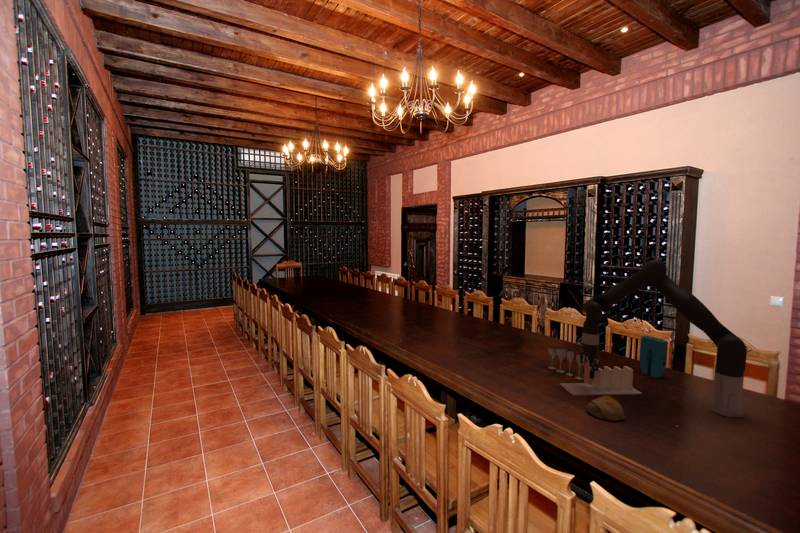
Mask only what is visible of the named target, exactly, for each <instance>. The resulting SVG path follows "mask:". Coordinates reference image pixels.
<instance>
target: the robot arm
mask: <svg viewBox="0 0 800 533" xmlns="http://www.w3.org/2000/svg"><path fill="white" fill-rule="evenodd" d="M667 271H668V268H667V265H666V264H665V262H663V261H662V260H658V259H657V260H656V259H655V260H654V259H653V260H649V261H647V262H646V263H644V264H643V265H642V266H641V267H640V269H639V270H638V271H636V272H635V273H634V274H632V275H631V276H629V277H628V278H626V279H624V280H622V281H621V282H619V283H617V284H615V285H613V286H612V287H610V288H609V289H607V290H605V291H604V292H602V293H601V294H599V295H596V296H594V297H591V298H590V299H588V300H586V301H585V302H584V303H583V304H582V310H583V312H584V313H585V320H584V322H583V325H582V336H581V348H580V349H581V351H579V353H580V363H581V364H582V365H581V366H582V374H583V375H584V366H585V361H586V362H588V366H589V369H590V372H589V378H590V379H593V380H594V377H595V371H598V369H599V368H600V365H601V360H600V359H598V358H597V354H598V353H599V352H600V351H599V350H600V324H601V321H602V316H603V309H604V308H606V307H612V306H614V305H616V304H617V303H619V302H621V301H622V300H624V299H625V298H626V297H628V296H629V295H631V294H633V293H634V292H635V291H637V290H638V289H640V288H641V287H644V286H646V285H647V284H650V286H652V287H653V288H654V289H656V290H657V292H659V293H660V294H661V295H662V297H664V298H665V299H666V300H667V302H669V304H670V305H672V307H673V308H674V309H675V310H676V311H677V312H678V313H679V314H680V315H681V316H682V318H684V319H686V320H687V321H688V322H689V323H691V324H692V325H693V326H694V327H696V328H698V329H699V330H701V331H702V332H703V333H704V334H705V335H706V336H707V337H708V338H709V339H710V340H711V342H712V343H713V344H714V345H715V346H716V356H715V357H716V359H715V365H714V375H713V376H714V377H713V387H712V398H711V399H712V400H711V411H713V412H714V413H716V414H719V415H721V416H724V417H727V418H743V412H744V403H745V395H744V394H743V386H744V378H745V377H744V375H745V371H746V364H747V353H748V350H747V349H748V348H747V346H746V344H745V342H744V341H743V339H741V338H740V337H739V336H737V335H736V334H734V332H733V331H731V330H730V329H729V328H728V327H726V326H725V325H724V324H722V323H721V322H720V321H719V320H718V319H717V317H716V316H715V315H714V314H713V313H712V312H711V311H710V309H709V308H708V307H707V306H706V305H705V304H704V303H703V302H702V301H701V300H700V299H699V298H698V297H697V296H695V295H694V294H693V293H692V292H690V291H689V290H687V289H685V288H683V287H682V286H681V285H679V284H677V283H676V282H675V281H673V280H672V279H671V277H669V276H668V274H667ZM582 359H583V360H582ZM590 363H593V364H590Z"/></svg>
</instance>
